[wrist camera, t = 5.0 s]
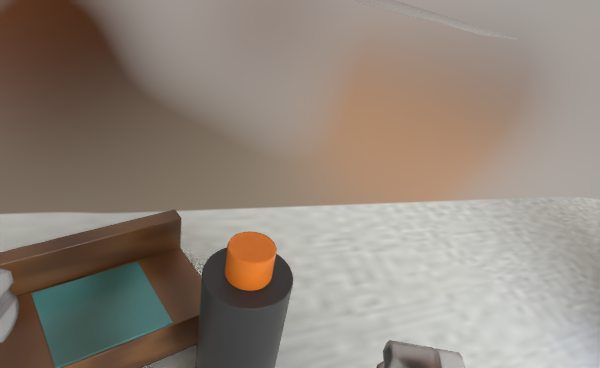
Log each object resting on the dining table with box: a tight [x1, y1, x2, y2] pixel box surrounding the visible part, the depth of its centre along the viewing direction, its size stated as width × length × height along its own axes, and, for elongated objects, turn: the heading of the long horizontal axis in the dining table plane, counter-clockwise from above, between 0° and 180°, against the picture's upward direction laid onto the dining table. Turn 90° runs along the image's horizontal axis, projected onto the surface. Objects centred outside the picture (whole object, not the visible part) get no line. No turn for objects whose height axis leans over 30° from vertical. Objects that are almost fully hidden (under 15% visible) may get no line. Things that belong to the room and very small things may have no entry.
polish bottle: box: [196, 232, 293, 368], centre depth 28 cm, size 5×5×12 cm
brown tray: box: [0, 210, 202, 368], centre depth 31 cm, size 14×8×6 cm, turn 126°
